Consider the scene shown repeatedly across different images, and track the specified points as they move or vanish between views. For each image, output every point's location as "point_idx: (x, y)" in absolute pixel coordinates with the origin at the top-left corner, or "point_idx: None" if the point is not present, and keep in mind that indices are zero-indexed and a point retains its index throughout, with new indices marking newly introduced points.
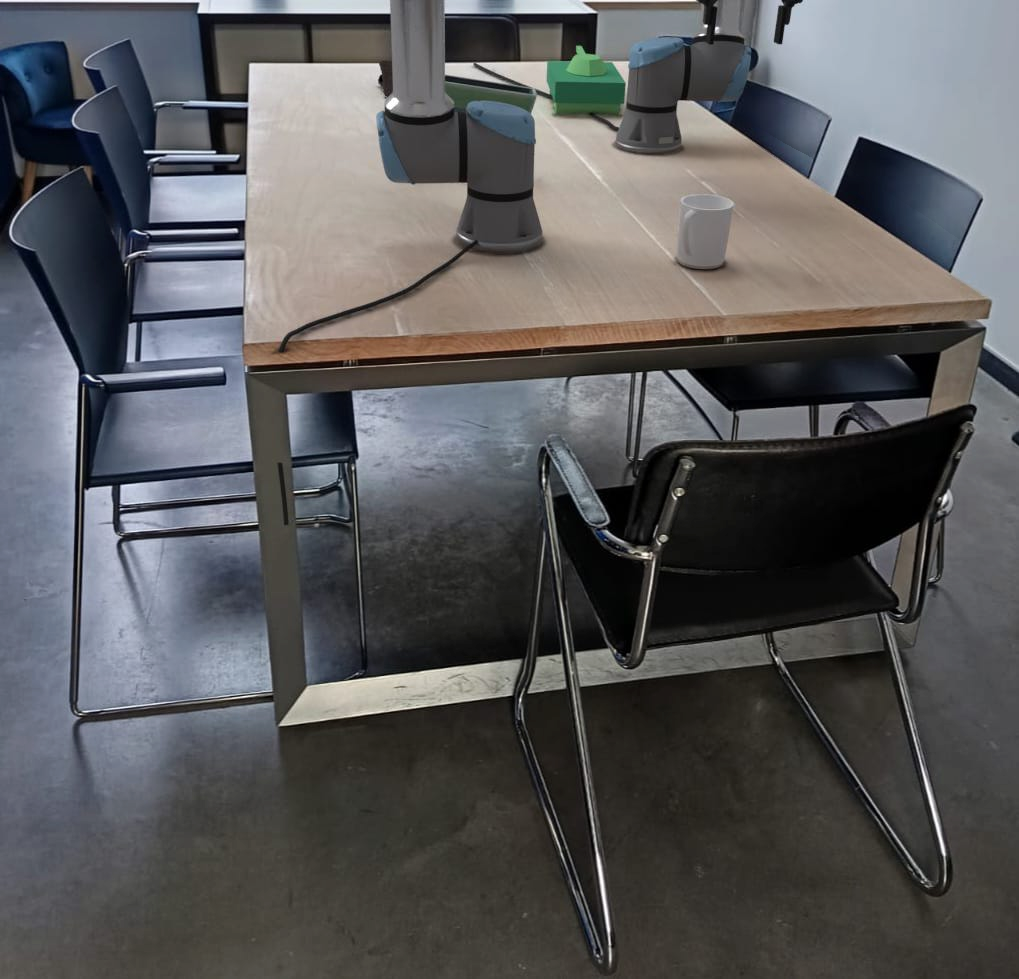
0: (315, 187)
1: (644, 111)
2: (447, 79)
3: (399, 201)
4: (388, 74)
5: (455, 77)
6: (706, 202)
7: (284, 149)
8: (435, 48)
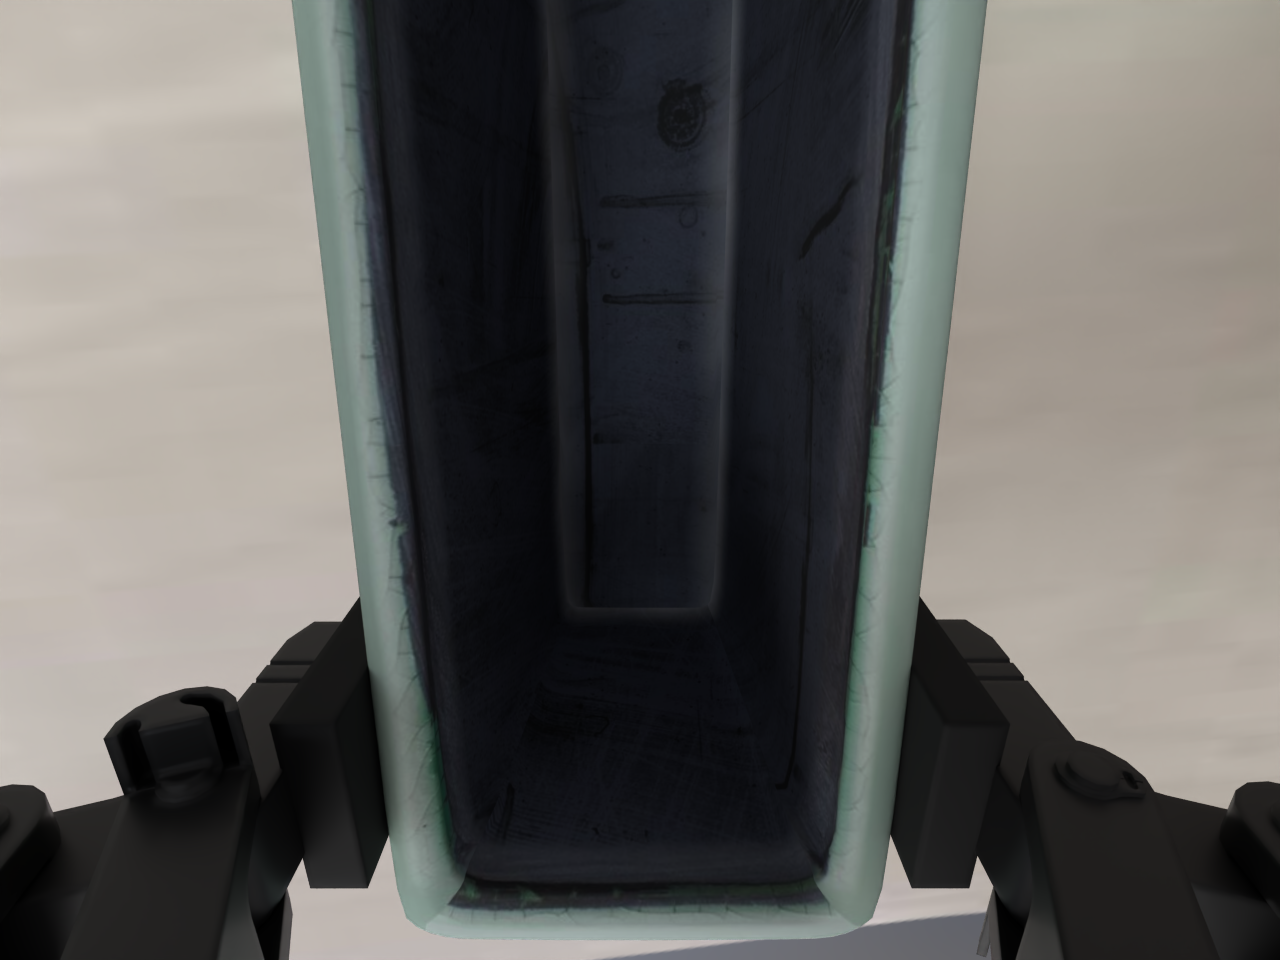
0: None
1: None
2: (416, 287)
3: (1079, 449)
4: None
5: (377, 134)
6: None
7: (313, 919)
8: None
